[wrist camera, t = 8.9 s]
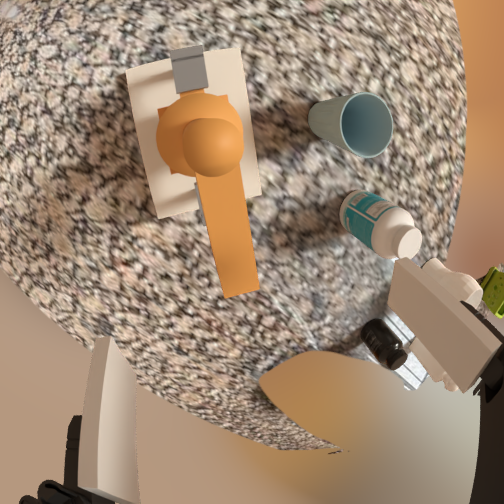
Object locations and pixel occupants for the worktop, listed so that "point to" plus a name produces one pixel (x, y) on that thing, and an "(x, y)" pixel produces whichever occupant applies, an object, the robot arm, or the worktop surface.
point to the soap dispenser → (431, 365)
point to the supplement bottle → (384, 344)
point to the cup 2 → (455, 282)
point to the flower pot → (494, 291)
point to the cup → (354, 123)
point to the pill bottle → (380, 225)
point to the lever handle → (213, 178)
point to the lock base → (167, 92)
